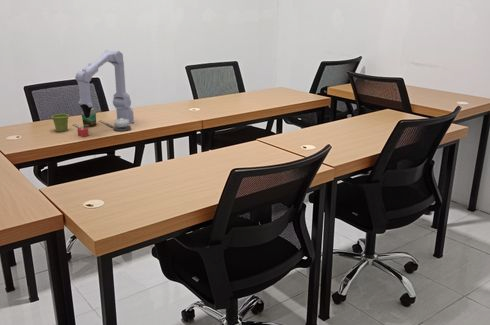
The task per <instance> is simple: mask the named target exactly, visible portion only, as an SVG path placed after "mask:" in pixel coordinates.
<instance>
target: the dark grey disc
mask: <svg viewBox="0 0 490 325" xmlns="http://www.w3.org/2000/svg"><path fill="white" fill-rule="evenodd" d="M112 130H113V132H117V133H123V132H128V131H131V130H132V126H131V125H129V126H127V127H116V126H115V125H114V127H113V128H112Z"/></svg>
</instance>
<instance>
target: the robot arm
mask: <svg viewBox="0 0 490 325" xmlns="http://www.w3.org/2000/svg"><path fill="white" fill-rule="evenodd" d="M106 63H110V64H111V65H112V66H114V77H115V78H114V79H115V80H114V81H115V92H116V93H114V94H113V97H112V98H113V99H112V105H113V106H114V108H115V110H116V119H120V118H123V119H128V120H129V124H131V123H135V120H134V119H135V118H134V117H135V116H134V110H133V108H132V107H131V106H132V101H131V97H130V94H128V93H127V92H126V76H125V63H124V54H123V53H122V52H121V51H120V50H109V49H105V50H104V51H103V52H102V53H101V55H100V56H99V57H98V58H97V59H96V60H95V61H94V62H91V63H88V64H87V66H86V67H84V68H83V69H82V70H79V71H77V72H76V74H75V77H74V79H75V80H76V82H77V84H78V91H79V92H78V93H79V101H78V104H80V105H79V107H80V108H81V111H83V113H84V116H85V118H90V112H91V108H92V107H93V106H94V105H93V100H92V97H91V95H92V94H91V84H90V82H91V81H92V78H93V76H95V74H96V73H98V72H99V68H100V67H102V66H103V65H104V64H106Z"/></svg>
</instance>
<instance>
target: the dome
mask: <svg viewBox="0 0 490 325" xmlns="http://www.w3.org/2000/svg"><path fill="white" fill-rule="evenodd" d="M115 126H116V127H127V126H130V123H129V120H128V119H123V118H120V119H117V118H116V119H114V127H115Z"/></svg>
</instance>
